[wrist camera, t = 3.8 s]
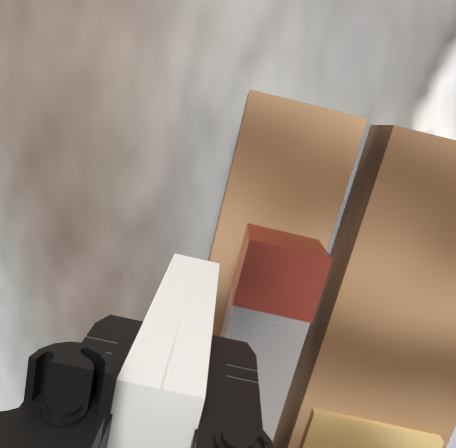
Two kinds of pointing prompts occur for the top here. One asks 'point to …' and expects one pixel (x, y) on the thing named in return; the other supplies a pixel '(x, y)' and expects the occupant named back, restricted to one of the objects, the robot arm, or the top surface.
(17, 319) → the top surface
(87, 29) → the top surface
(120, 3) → the top surface
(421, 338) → the door boards
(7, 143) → the top surface
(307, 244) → the latch arm
